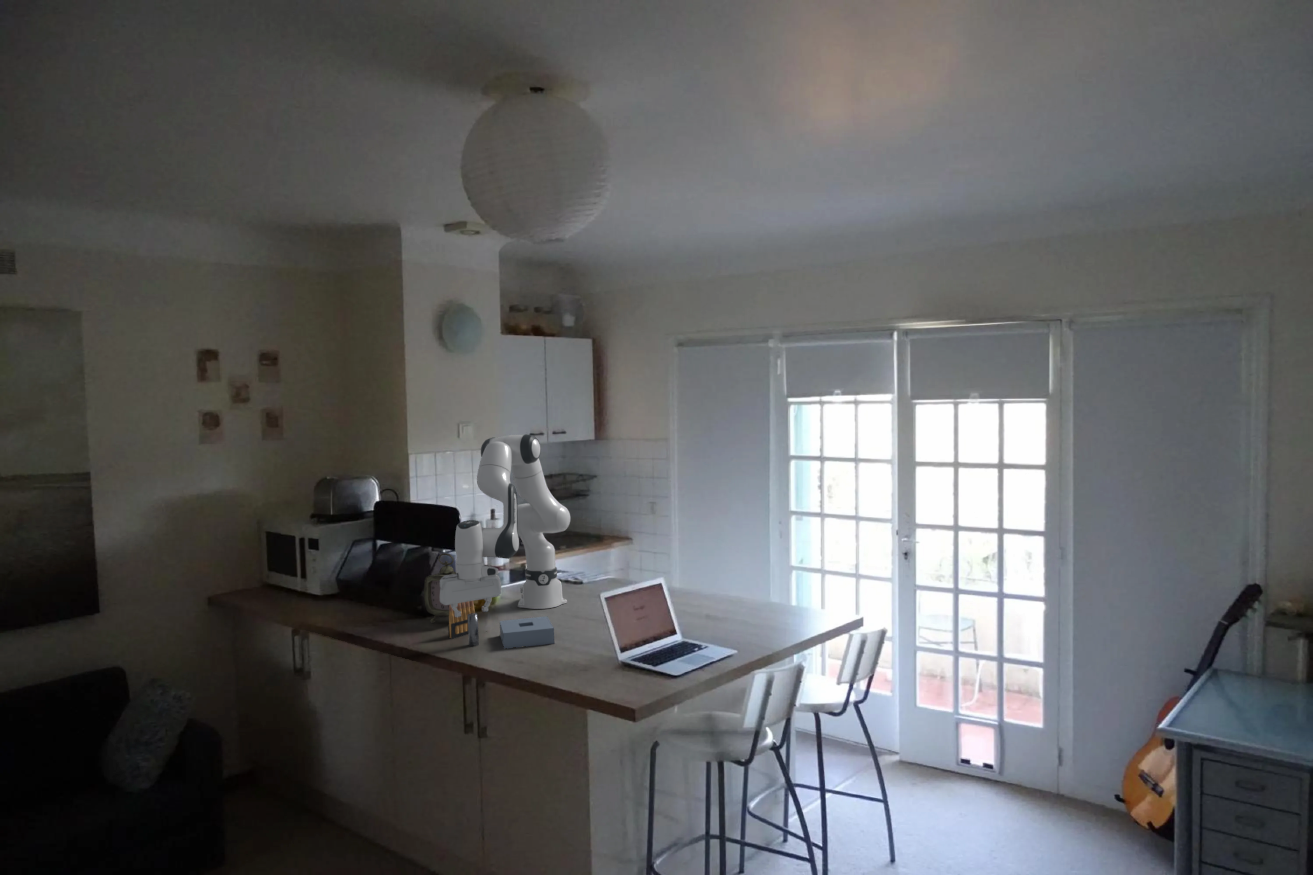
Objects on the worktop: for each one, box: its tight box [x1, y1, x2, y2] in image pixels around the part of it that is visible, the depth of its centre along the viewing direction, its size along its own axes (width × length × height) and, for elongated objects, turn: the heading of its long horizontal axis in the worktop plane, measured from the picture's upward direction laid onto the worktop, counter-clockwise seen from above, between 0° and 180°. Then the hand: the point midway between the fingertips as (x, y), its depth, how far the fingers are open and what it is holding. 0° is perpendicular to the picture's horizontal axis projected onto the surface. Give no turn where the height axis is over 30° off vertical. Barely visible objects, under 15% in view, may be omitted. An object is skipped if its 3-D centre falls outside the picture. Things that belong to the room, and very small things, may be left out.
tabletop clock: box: [423, 552, 470, 624], centre depth 304 cm, size 14×9×25 cm, turn 62°
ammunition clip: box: [447, 601, 476, 640], centre depth 287 cm, size 11×2×12 cm, turn 142°
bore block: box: [499, 615, 555, 650], centre depth 279 cm, size 16×16×5 cm
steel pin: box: [467, 612, 480, 647], centre depth 274 cm, size 3×3×10 cm
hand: (471, 614), depth 274 cm, fingers open, 8 cm apart
